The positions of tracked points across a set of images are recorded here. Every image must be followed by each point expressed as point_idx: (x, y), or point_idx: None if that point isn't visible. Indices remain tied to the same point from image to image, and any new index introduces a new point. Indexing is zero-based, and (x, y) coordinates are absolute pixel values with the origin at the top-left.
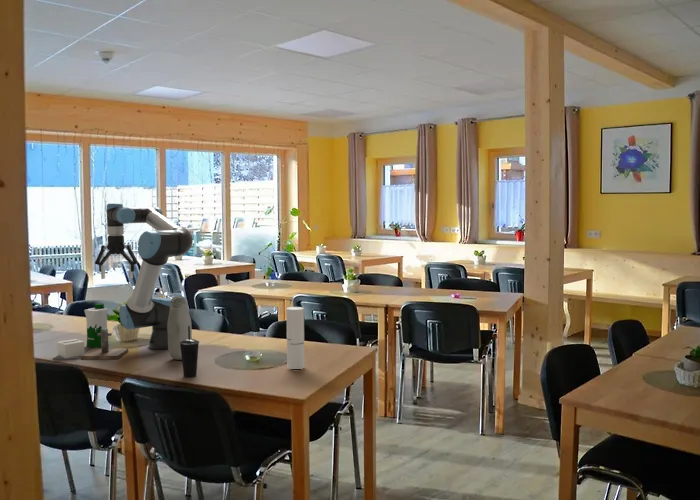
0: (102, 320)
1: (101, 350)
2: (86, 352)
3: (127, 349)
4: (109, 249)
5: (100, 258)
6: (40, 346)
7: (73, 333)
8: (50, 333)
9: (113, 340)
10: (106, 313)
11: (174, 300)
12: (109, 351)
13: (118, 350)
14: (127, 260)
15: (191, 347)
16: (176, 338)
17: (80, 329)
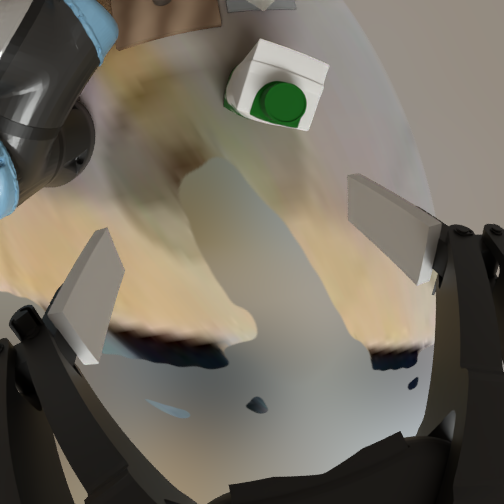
0: (236, 71)
1: (183, 9)
2: (230, 6)
3: (116, 44)
4: (502, 483)
5: (499, 302)
6: (392, 86)
7: None
8: None
9: (242, 166)
10: (235, 95)
11: None
12: (153, 6)
13: (132, 21)
14: (58, 370)
15: None
16: None
17: (380, 266)
